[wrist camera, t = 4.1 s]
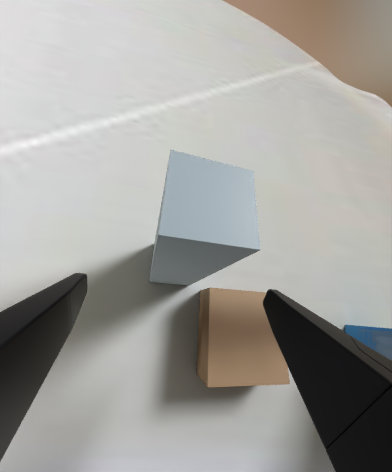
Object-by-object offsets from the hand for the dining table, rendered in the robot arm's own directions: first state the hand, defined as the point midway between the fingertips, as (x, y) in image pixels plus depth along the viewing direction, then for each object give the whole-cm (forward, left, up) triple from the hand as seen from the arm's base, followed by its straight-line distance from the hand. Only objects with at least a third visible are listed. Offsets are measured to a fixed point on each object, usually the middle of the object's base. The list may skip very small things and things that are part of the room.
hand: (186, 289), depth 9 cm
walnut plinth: (-5, -5, -9) cm, 12 cm away
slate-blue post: (+3, -1, -9) cm, 10 cm away
